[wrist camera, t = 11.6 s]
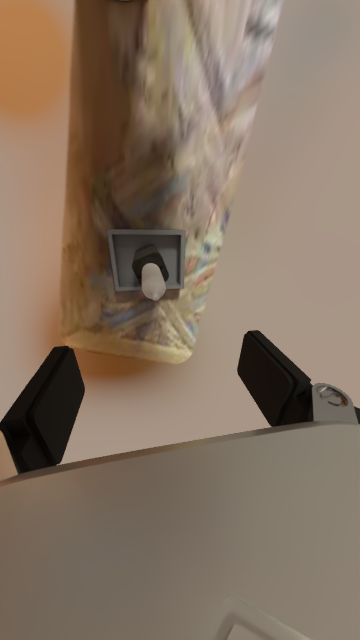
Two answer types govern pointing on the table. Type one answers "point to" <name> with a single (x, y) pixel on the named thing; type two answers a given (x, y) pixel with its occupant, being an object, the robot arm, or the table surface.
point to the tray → (133, 239)
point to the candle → (150, 271)
